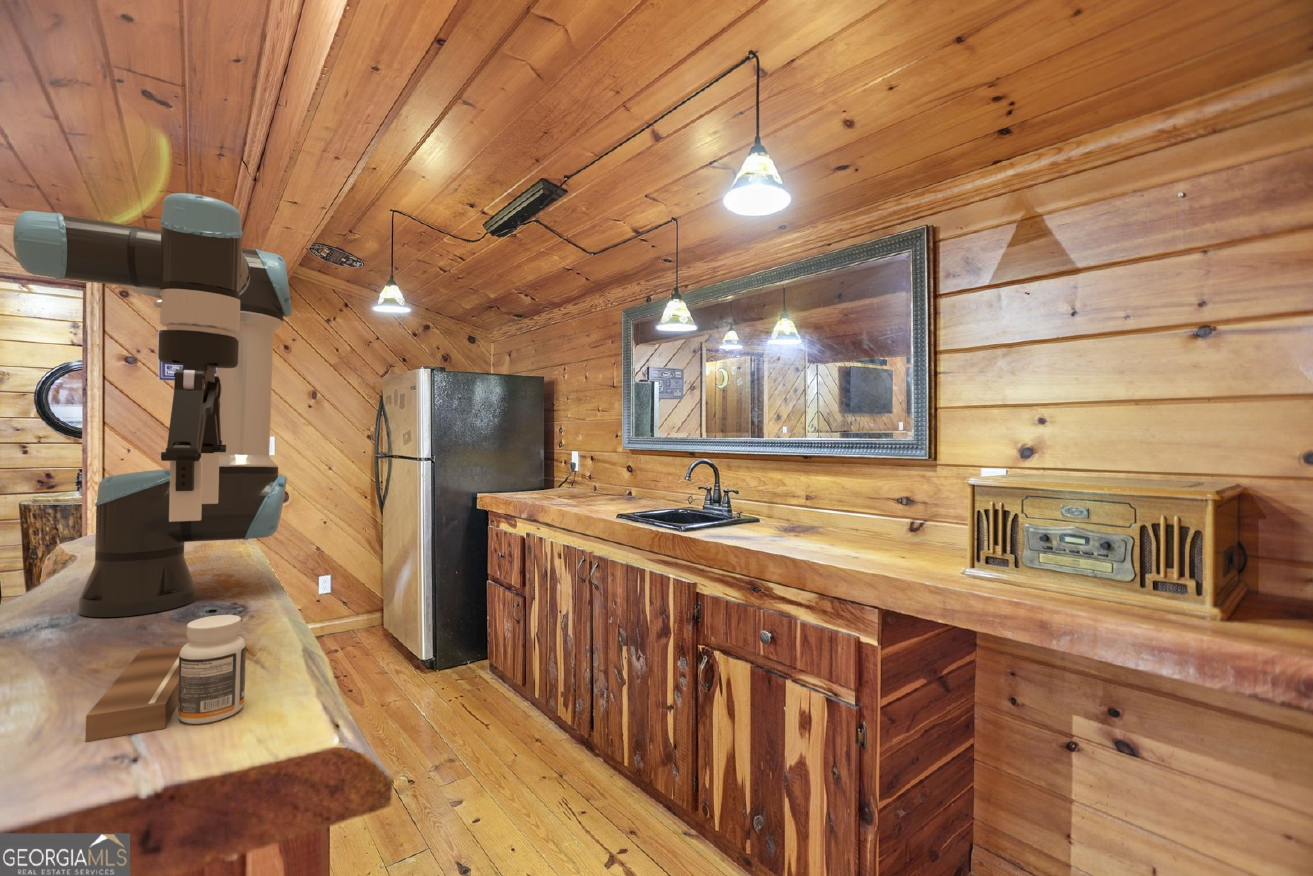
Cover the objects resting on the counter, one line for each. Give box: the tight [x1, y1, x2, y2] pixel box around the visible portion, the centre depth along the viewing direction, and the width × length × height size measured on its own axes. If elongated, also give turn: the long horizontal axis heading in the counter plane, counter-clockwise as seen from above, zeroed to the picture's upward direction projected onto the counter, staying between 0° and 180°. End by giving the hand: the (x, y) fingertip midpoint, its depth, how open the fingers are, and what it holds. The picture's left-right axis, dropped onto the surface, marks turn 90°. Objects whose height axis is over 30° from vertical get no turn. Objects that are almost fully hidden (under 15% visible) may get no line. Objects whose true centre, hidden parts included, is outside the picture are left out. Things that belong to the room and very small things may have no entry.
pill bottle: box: [177, 614, 247, 725], centre depth 64 cm, size 6×6×10 cm
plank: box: [84, 645, 184, 743], centre depth 68 cm, size 20×6×3 cm, turn 29°
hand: (195, 511), depth 71 cm, fingers open, 13 cm apart
